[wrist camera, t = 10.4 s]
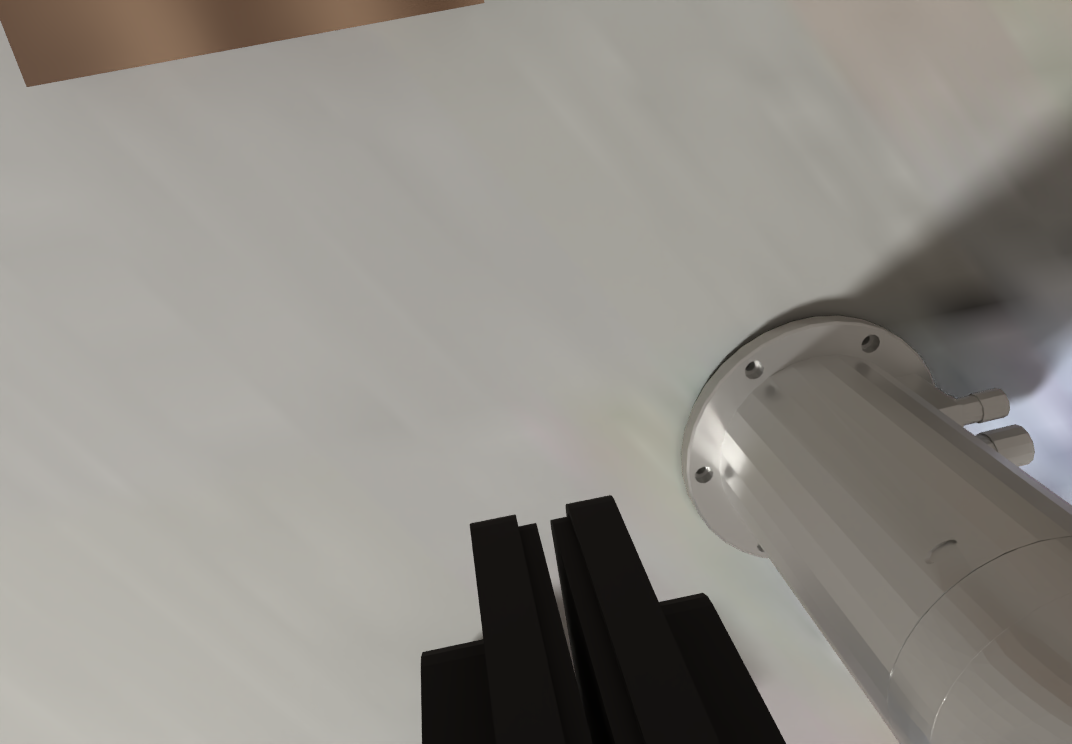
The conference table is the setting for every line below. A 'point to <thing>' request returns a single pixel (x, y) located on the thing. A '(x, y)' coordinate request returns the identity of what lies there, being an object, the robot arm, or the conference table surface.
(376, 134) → the conference table surface
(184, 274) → the conference table surface
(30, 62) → the deck
